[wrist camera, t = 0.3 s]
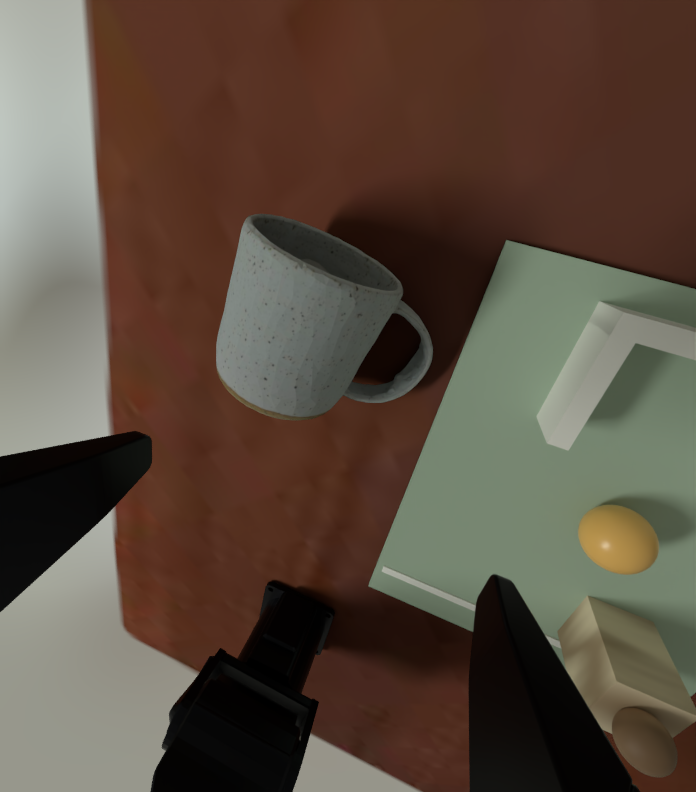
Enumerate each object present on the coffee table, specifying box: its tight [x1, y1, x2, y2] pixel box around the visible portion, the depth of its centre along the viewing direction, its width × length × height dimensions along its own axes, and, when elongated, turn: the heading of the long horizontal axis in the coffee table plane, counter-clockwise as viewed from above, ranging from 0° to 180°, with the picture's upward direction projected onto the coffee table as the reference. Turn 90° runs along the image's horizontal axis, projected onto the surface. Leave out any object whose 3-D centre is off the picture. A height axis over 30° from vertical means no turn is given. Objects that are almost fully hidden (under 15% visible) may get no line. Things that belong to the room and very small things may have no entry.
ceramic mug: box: [216, 214, 433, 420], centre depth 18 cm, size 11×8×8 cm
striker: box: [557, 596, 696, 777], centre depth 21 cm, size 4×4×8 cm
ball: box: [578, 505, 659, 575], centre depth 20 cm, size 4×4×4 cm
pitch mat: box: [369, 240, 696, 697], centre depth 22 cm, size 26×22×1 cm
